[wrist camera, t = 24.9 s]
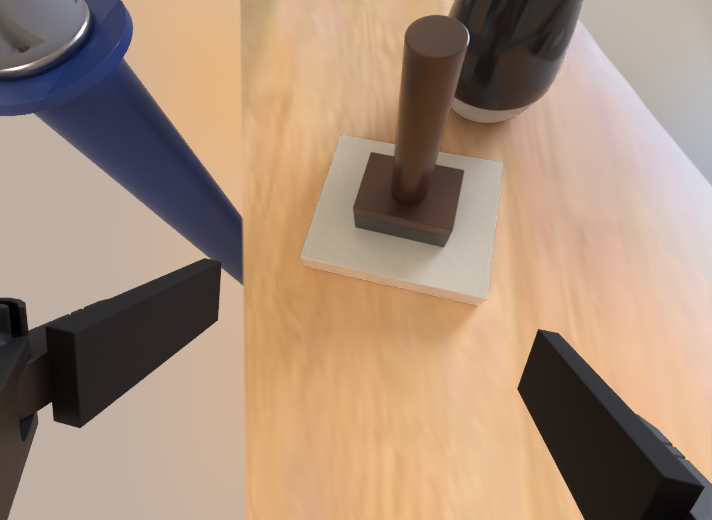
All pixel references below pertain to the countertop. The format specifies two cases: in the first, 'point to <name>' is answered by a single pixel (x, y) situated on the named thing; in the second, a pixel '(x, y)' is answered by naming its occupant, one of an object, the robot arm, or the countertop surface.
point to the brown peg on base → (418, 141)
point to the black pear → (510, 54)
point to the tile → (398, 255)
